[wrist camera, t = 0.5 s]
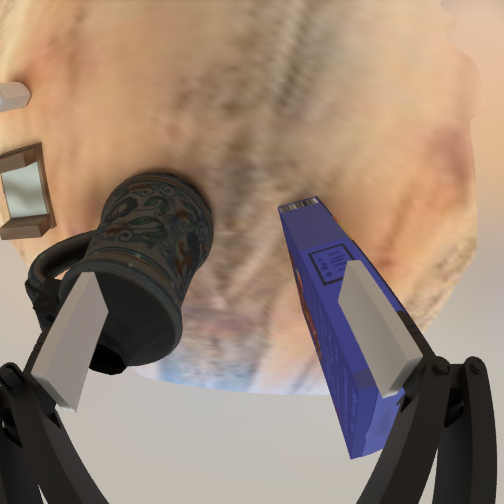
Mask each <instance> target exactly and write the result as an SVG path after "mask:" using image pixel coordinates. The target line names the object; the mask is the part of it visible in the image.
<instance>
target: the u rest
mask: <svg viewBox="0 0 504 504" xmlns="http://www.w3.org/2000/svg"><path fill="white" fill-rule="evenodd" d="M0 174H1V179H2V184H3V189H4V194H5V198H6V203H7V207H8V211H9V214H10V218H11V219H10V220H9V221H8V222H6V223H5V224H4V225H3V226H2V227H1V228H0V236H1V239H2V240H10V239H24V238H38V237H42V236H43V235H44V234H45V233H46V232H47V231H48V230H49V229H50V228H54V227H55V226H56V222H55V218H54V214H53V209H52V205H51V200H50V196H49V191H48V185H47V180H46V174H45V168H44V161H43V154H42V146H41V143H38V144H34V145H31V146H27V147H24V148H20V149H17V150H14V151H10V152H7V153H4V154H1V155H0Z"/></svg>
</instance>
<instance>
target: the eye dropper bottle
mask: <svg viewBox="0 0 504 504" xmlns="http://www.w3.org/2000/svg"><path fill="white" fill-rule="evenodd" d="M30 96H31V94H30V92H29V90H28V88H27V87H26V86H25V85H24V84H22V83H20V82H6V83H0V112H4V111H8V110H13V109H18V108H23V107H25V106H26V105H27V103H28V101H29V99H30Z"/></svg>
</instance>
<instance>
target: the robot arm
mask: <svg viewBox="0 0 504 504" xmlns="http://www.w3.org/2000/svg"><path fill="white" fill-rule="evenodd" d="M338 303H339V305H340V307H341V309H342V311H343V313H344V315H345V317H346V319H347V321H348V323H349V325H350V327H351V329H352V332H353V334H354V336H355V338H356V340H357V342H358V344H359V346H360V349H361V351H362V353H363V355H364V357H365V360H366V362H367V364H368V366H369V368H370V371H371V373H372V375H373V377H374V380H375V382H376V384H377V387H378V389H379V391H380V394H381V396H382V398H386V397H389V396H392V395H396V394H397V393H398V392H399V391H400V389H401V388H402V387H403V389H404V391H405V393H404V394H403V396H402V397H401V398H400V399H399V401H398V402H397V404H396V405H397V406H398V405H399V404H400V406H399V409H398V412H397V414H396V417H395V420H394V423H393V425H392V428H391V431H390V433H389V436H388V438H387V441H386V443H385V446H384V448H383V451H382V453H381V455H380V457H379V460H378V462H377V464H376V466H375V468H374V470H373V472H372V475H371V477H370V479H369V481H368V483H367V485H366V486H365V489H364V490H363V492H362V494H361V496H360V498H359V499H358V501H357V503H356V504H418V503H419V500H420V498H421V496H422V493H423V490H424V488H425V485H426V482H427V480H428V476H429V474H430V471H431V468H432V464H433V461H434V458H435V455H436V451H437V448H438V455H437V468H436V478H435V487H434V494H433V501H432V504H495V498H496V485H497V444H496V429H495V419H494V410H493V403H492V397H491V390H490V384H489V379H488V374H487V369H486V366H485V364H484V362H483V361H482V360H481V359H479V358H478V357H474V356H472V357H469V358H467V359H466V361H465V362H464V363H463V364H450V363H449V362H448V361H447V360H446V359H444V358H443V357H439V356H435V354H434V353H433V351H432V350H431V348H430V347H429V345H428V343H427V342H426V340H425V339H424V337H423V335H422V334H421V333H420V332H419V329H418V328H417V326H415V323H414V322H413V320H412V319H411V317H410V316H409V315H407V314H406V313H405V312H404V311H402V310H400V311H395V310H394V308H393V307H392V305H391V304H390V302H389V301H388V299H387V298H386V296H385V295H384V293H383V292H382V290H381V289H380V287H379V286H378V284H377V283H376V282H375V280H374V279H373V277H372V276H371V274H370V273H369V272H368V270H367V269H366V267H365V266H364V265H363V263H362V262H361V260H353V261H347V265H346V269H345V274H344V278H343V282H342V286H341V291H340V295H339V298H338ZM107 314H108V309H107V307H106V304H105V301H104V299H103V296H102V293H101V291H100V288H99V285H98V282H97V279H96V276H95V273H94V272H82V273H81V275H80V277H79V278H78V280H77V282H76V283H75V285H74V287H73V289H72V290H71V292H70V294H69V296H68V297H67V299H66V301H65V303H64V305H63V306H62V308H61V310H60V312H59V314H58V316H57V318H56V320H55V322H54V324H53V325H52V327H47V328H46V329H45V330H44V331H43V332H42V333H41V334H40V336H39V338H38V340H37V344H35V346H34V348H33V351H32V353H31V355H30V357H29V359H28V361H27V364H26V366H25V368H24V370H23V372H22V371H21V370H20V369H19V367H18V366H17V365H16V364H15V363H12V362H9V363H6V364H4V365H3V366H1V368H0V385H1V386H0V504H44V503H43V500H42V497H41V493H40V490H39V486H40V489H41V491H42V493H43V495H44V497H45V499H46V501H47V502H48V504H109V503H108V502H107V500H106V499H105V497H104V496H103V495H102V493H101V492H100V490H99V489H98V487H97V486H96V484H95V483H94V481H93V479H92V478H91V476H90V474H89V473H88V471H87V469H86V468H85V466H84V464H83V463H82V461H81V459H80V457H79V456H78V454H77V452H76V450H75V448H74V446H73V444H72V442H71V440H70V438H69V436H68V434H67V432H66V430H65V428H64V426H63V423H62V421H61V419H60V417H59V415H58V413H57V411H56V409H55V406H56V403H57V404H58V405H59V406H60V407H61V408H62V409H63V410H67V411H72V412H76V410H77V407H78V403H79V399H80V395H81V392H82V388H83V385H84V381H85V378H86V375H87V371H88V368H89V365H90V362H91V359H92V356H93V353H94V350H95V347H96V344H97V341H98V338H99V335H100V333H101V330H102V327H103V324H104V322H105V319H106V317H107ZM400 402H401V403H400ZM2 422H3V423H4V427H3V423H2ZM38 485H39V486H38Z"/></svg>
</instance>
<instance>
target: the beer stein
mask: <svg viewBox="0 0 504 504" xmlns="http://www.w3.org/2000/svg"><path fill="white" fill-rule="evenodd" d="M212 242H213V222H212V218H211V212H210V208H209V207H208V205H207V204H206V203H205V201H204V200H203V198H202V197H201V195H200V194H199V193H198V191H197V190H196V188H195V187H194V186H193V185H191V184H189V183H187V182H186V181H184V180H182V179H180V178H178V177H177V176H175V175H173V174H166V173H146V174H143V175H138V176H135V177H132V178H130V179H128V180H126V181H124V182H123V183H121V184H120V185H119V186H118V187H117V188H116V189H115V190H114V191H113V192H112V193H111V195H110V196H109V198H108V199H107V201H106V203H105V205H104V208H103V211H102V215H101V223H100V224H99V226H98V228H97V230H93V231H89V232H86V233H82V234H79V235H76V236H73V237H70V238H68V239H65V240H63V241H61V242H58V243H56V244H55V245H53V246H51V247H50V248H48V249H46V250H45V251H44V252H42V253H41V254H39V255H38V256H37V257H36V259H35V260H34V261H33V263H32V264H31V267H30V269H29V272H28V279H27V280H26V282H25V288H26V291H27V294H28V296H29V298H30V299H31V301H32V304H33V309H34V310H35V312H36V315H37V318H38V321H39V324H40V328H41V330H42V332H43V331H44V330H45V329H46V328H47V327H52V325H53V324H54V322H55V320H56V318H57V316H58V314H59V312H60V310H61V308H62V306H63V305H64V303H65V301H66V299H67V297H68V296H69V294H70V292H71V290H72V289H73V287H74V285H75V283H76V282H77V280H78V278H79V277H80V275H81V273H82V272H94V273H95V276H96V279H97V282H98V285H99V288H100V291H101V293H102V296H103V299H104V301H105V304H106V307H107V309H108V314H107V317H106V319H105V322H104V324H103V327H102V330H101V333H100V335H99V338H98V341H97V344H96V347H95V350H94V353H93V356H92V359H91V362H90V365H89V368H90V369H91V370H93V371H97V372H101V373H105V374H109V375H115V374H120V373H122V372H123V371H124V370H125V369H126V368H127V366H140V365H145V364H149V363H153V362H156V361H158V360H160V359H162V358H164V357H165V356H167V355H169V354H170V353H171V352H172V351H173V350H174V349H175V348H176V346H177V345H178V343H179V342H180V339H181V336H182V330H183V327H182V314H181V306H182V303H183V300H184V298H185V295H186V293H187V290H188V287H189V285H190V282H191V280H192V278H193V276H194V274H195V272H196V271H197V270H198V269H199V268H200V267H201V266H202V264H203V263H204V262H205V260H206V259H207V257H208V255H209V252H210V250H211V246H212ZM68 269H69V270H68ZM65 270H68V271H67V272H66V273H65V275H64V277H63V279H62V280H58V279H54V278H55V277H56V276H58V275H59V274H61V273H62V272H64V271H65Z"/></svg>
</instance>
